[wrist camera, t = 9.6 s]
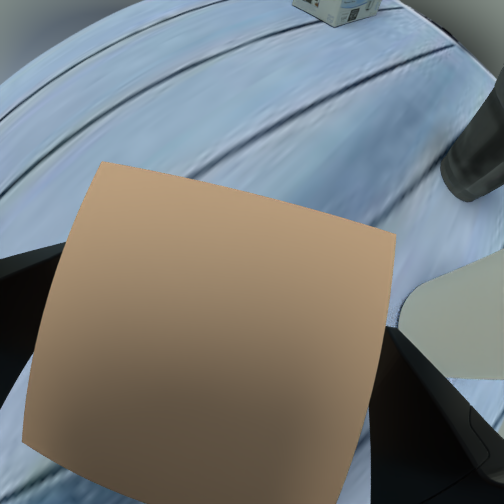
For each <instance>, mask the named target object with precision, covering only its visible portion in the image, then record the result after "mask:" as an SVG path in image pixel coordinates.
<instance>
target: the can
mask: <svg viewBox="0 0 504 504" xmlns="http://www.w3.org/2000/svg"><path fill="white" fill-rule="evenodd" d="M398 329H399V330H400V331H401V332H402V333H403V334H404V335H405V336H406V337H407V338H408V339H409V340H410V341H411V342H412V343H413V344H414V345H415V346H416V347H417V349H418V350H419V351H420V352H421V353H422V354H423V355H424V356H425V357H426V358H427V359H428V360H429V361H430V362H431V363H432V364H433V365H434V366H435V367H436V368H437V369H438V370H439V371H440V372H441V373H442V374H443V375H444V377H446V378H461V379H484V380H504V249H502V250H500V251H497V252H495V253H493V254H491V255H489V256H486V257H484V258H482V259H480V260H477V261H475V262H473V263H470V264H468V265H466V266H463V267H461V268H459V269H456V270H454V271H452V272H449V273H447V274H444V275H442V276H440V277H437V278H435V279H432V280H430V281H428V282H425V283H423V284H421V285H420V286H418V287H417V288H416V289H415V290H414V291H413V292H412V293H411V294H410V295H409V296H408V298H407V299H406V301H405V303H404V305H403V307H402V310H401V313H400V317H399V323H398Z"/></svg>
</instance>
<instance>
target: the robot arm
mask: <svg viewBox="0 0 504 504" xmlns="http://www.w3.org/2000/svg"><path fill="white" fill-rule="evenodd" d="M65 244H66V242H64V243H60V244H56V245H52V246H48V247H44V248H40V249H36V250H32V251H29V252H25V253H21V254H17V255H14V256H10V257H7V258H3V259H0V409H1V407H2V405H3V403H4V402H5V400H6V398H7V396H8V394H9V392H10V391H11V389H12V387H13V385H14V384H15V382H16V380H17V379H18V377H19V375H20V373H21V372H22V370H23V368H24V367H25V365H26V364H27V362H28V360H29V359H30V357H31V355H32V354H33V352H34V350H35V345H36V341H37V336H38V332H39V328H40V324H41V320H42V316H43V312H44V309H45V305H46V301H47V298H48V295H49V291H50V288H51V285H52V281H53V278H54V275H55V272H56V269H57V266H58V263H59V260H60V258H61V255H62V252H63V249H64V247H65ZM369 420H370V444H371V504H504V439H503V438H502V437H501V436H500V435H499V434H498V433H497V432H496V431H495V430H494V429H493V428H492V427H491V426H490V425H489V424H488V423H487V422H486V421H485V420H484V419H483V418H482V416H481V415H480V414H479V413H478V412H477V411H476V410H475V409H474V408H473V407H472V406H471V405H470V403H469V402H468V401H467V400H466V399H465V398H464V397H463V396H462V395H461V394H460V393H459V391H458V390H457V389H456V388H455V387H454V386H453V385H452V384H451V383H450V382H449V381H448V380H447V379H446V378H445V377H444V375H443V374H442V373H441V372H440V371H439V370H438V369H437V368H436V367H435V366H434V365H433V364H432V363H431V362H430V361H429V360H428V359H427V358H426V357H425V356H424V355H423V354H422V353H421V352H420V351H419V350H418V349H417V347H416V346H415V345H414V344H413V343H412V342H411V341H410V340H409V339H408V338H407V337H406V336H405V335H404V334H403V333H402V332H401V331H400V330H399V329H397V328H394V327H389V326H385V331H384V337H383V342H382V348H381V353H380V358H379V363H378V367H377V372H376V376H375V381H374V385H373V389H372V393H371V397H370V401H369Z"/></svg>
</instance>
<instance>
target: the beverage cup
mask: <svg viewBox="0 0 504 504" xmlns="http://www.w3.org/2000/svg"><path fill="white" fill-rule="evenodd" d="M440 169H441V174H442V177H443V180H444V182H445V184H446V185H447V187H448V188H449V190H450V191H451V192H452V193H453V194H454V195H455V196H456V197H457V198H459V199H460V200H462V201H465V202H471V201H473V200H475V199H476V198H479V197H481V196H484V195H486V194H488V193H490V192H491V191H493V190H495V189H497V188H498V187H500V186H502V185H504V67H503V68H502V70H501V72H500V74H499V76H498V79H497V81H496V83H495V87H494V88H493V90H492V91H491V93H490V94H489V96H488V97H487V99H486V100H485V102H484V103H483V104H482V106H481V107H480V109H479V110H478V112H477V113H476V114H475V116H474V117H473V119H472V120H471V121H470V123H469V124H468V126H467V127H466V128H465V130H464V131H463V132H462V134H461V135H460V136H459V138H458V139H457V140H456V142H455V143H454V144H453V146H452V147H451V148H450V150H449V152H448V154H447V155H446V157H445V158H444V159H443V160H442V162H441V167H440Z"/></svg>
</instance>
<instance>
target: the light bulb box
mask: <svg viewBox="0 0 504 504" xmlns="http://www.w3.org/2000/svg"><path fill="white" fill-rule="evenodd" d="M381 1H382V0H293V3H292V5H294V6H296V7H298V8H300V9H302V10H304V11H306V12H308V13H309V14H311V15H313V16H315V17H317V18H319V19H321V20H322V21H324V22H326V23H328V24H329V25H331V26H333V27H336V26H339V25H342V24H346V23H349V22H352V21H356V20H359V19H363V18H367V17H370V16H374V15H376V13H377V11H378V8H379V6H380V3H381Z"/></svg>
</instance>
